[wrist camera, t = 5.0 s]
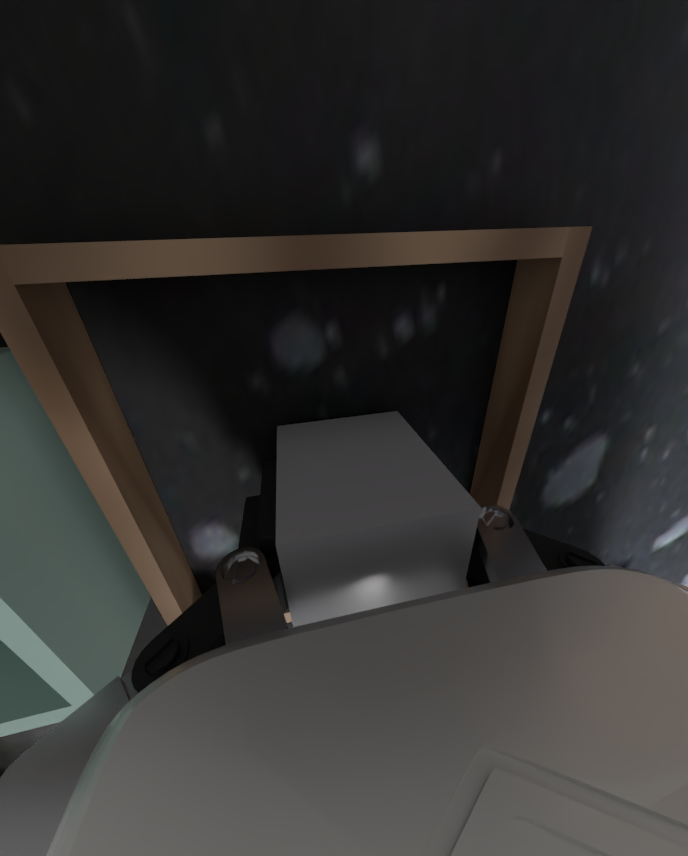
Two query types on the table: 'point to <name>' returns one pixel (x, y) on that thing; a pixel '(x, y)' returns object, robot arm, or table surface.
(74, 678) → the sage green bin
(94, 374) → the brown wooden frame
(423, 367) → the table surface
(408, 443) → the stone block
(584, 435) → the table surface
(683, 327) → the table surface
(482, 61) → the table surface
